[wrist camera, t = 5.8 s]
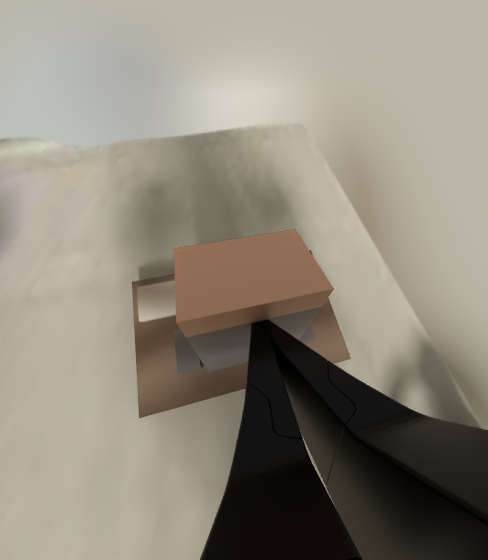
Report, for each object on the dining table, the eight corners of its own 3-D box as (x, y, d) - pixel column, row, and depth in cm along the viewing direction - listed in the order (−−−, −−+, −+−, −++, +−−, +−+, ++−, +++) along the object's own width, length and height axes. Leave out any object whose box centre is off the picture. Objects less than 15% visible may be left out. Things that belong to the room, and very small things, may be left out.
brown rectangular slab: (341, 357, 18) (369, 360, 15) (147, 411, 16) (123, 431, 12) (305, 256, 22) (320, 239, 18) (139, 286, 19) (118, 273, 15)
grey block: (290, 354, 16) (338, 287, 8) (208, 375, 15) (170, 323, 7) (274, 311, 18) (298, 228, 10) (202, 327, 17) (169, 249, 9)
